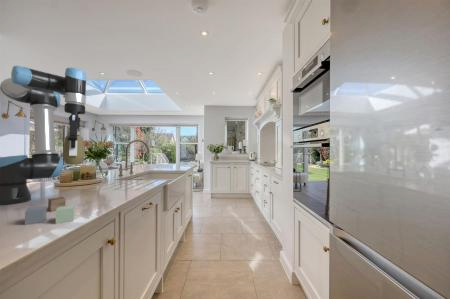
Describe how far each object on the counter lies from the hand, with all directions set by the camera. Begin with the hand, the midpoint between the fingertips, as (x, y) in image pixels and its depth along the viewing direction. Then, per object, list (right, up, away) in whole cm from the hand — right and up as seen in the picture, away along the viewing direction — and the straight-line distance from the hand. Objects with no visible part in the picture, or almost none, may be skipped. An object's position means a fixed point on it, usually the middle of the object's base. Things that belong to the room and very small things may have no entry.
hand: (73, 155), depth 92 cm
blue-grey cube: (-2, -24, -16) cm, 29 cm away
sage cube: (+7, -24, -15) cm, 29 cm away
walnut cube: (-7, -24, 0) cm, 25 cm away
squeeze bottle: (0, -4, 0) cm, 4 cm away
